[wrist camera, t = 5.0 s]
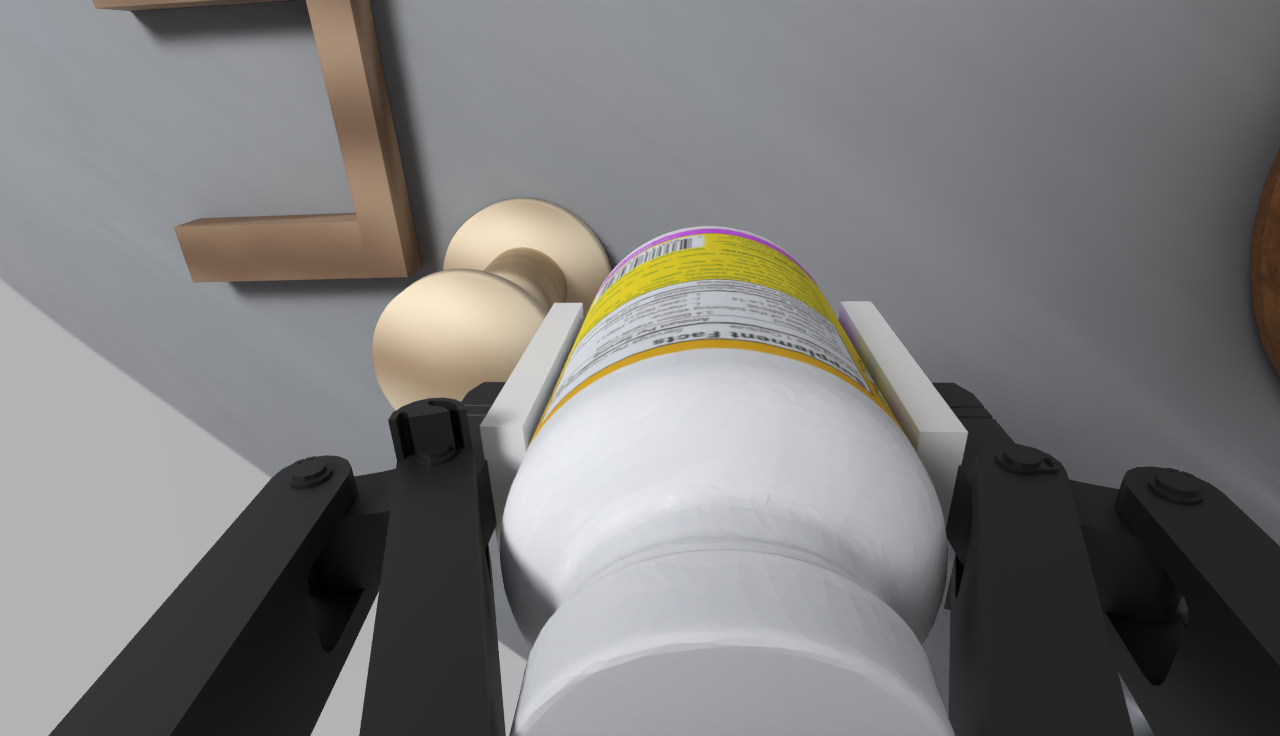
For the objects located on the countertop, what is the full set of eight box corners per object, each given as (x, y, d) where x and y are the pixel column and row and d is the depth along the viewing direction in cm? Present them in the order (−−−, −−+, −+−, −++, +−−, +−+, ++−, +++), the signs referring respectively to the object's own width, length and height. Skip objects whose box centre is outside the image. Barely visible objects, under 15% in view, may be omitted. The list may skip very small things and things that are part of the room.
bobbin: (436, 200, 34) (329, 261, 24) (606, 194, 33) (568, 254, 23) (465, 356, 38) (382, 464, 28) (617, 354, 37) (589, 465, 27)
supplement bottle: (774, 466, 20) (884, 1034, 8) (564, 403, 19) (367, 901, 8) (870, 262, 17) (1247, 683, 5) (627, 183, 17) (465, 452, 5)
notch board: (104, -63, 30) (67, -71, 28) (353, -83, 29) (330, -92, 27) (217, 271, 37) (193, 282, 35) (422, 265, 36) (407, 276, 34)
